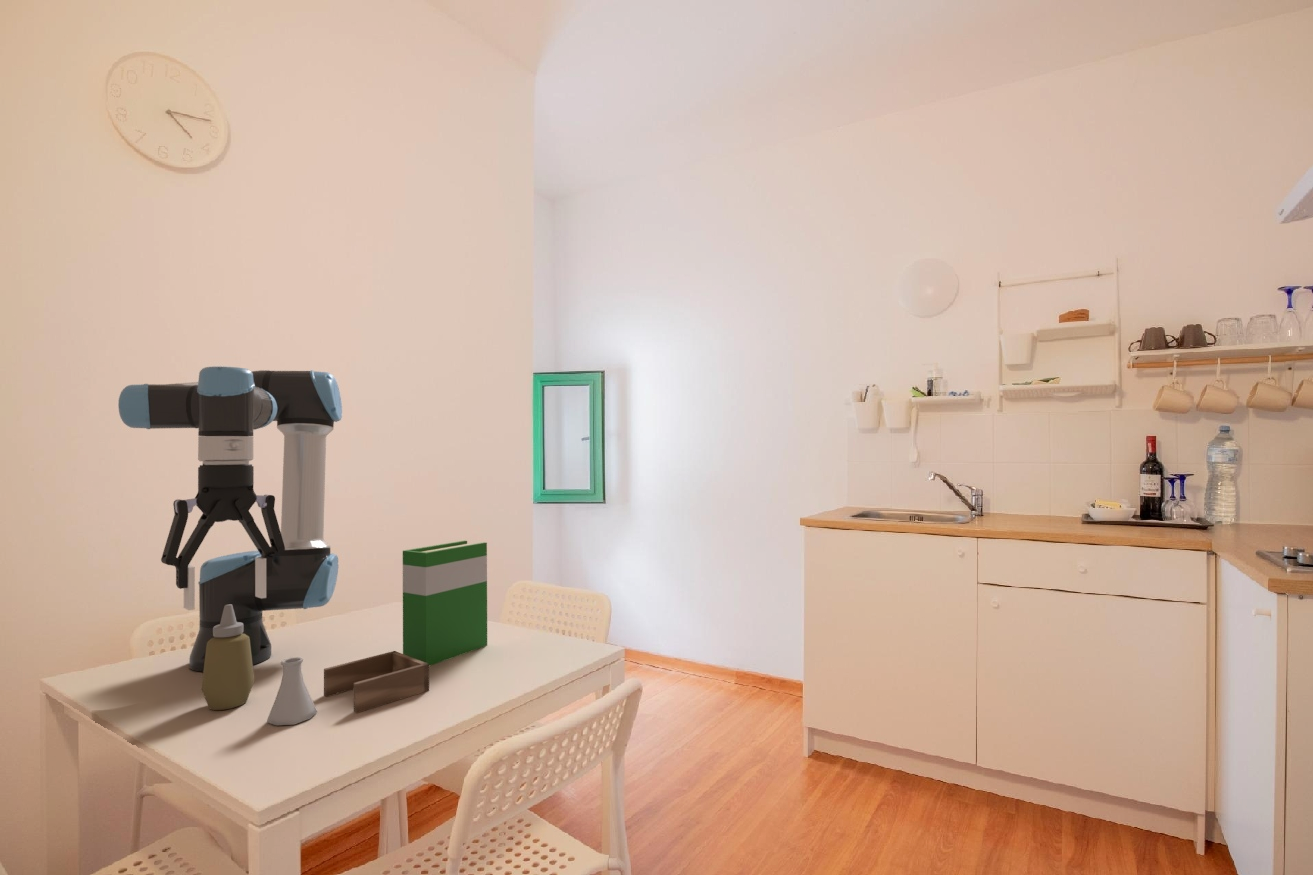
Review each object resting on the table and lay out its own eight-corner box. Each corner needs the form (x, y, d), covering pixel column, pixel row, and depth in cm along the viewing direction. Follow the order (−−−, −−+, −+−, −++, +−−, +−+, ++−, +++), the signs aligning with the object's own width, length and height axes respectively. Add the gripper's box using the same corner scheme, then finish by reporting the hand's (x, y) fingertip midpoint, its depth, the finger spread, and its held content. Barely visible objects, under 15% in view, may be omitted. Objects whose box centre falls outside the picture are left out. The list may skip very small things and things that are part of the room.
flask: (295, 728, 110) (295, 667, 110) (257, 725, 111) (257, 665, 111) (325, 711, 117) (325, 654, 117) (289, 708, 118) (289, 652, 118)
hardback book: (464, 640, 159) (464, 540, 159) (487, 645, 155) (486, 542, 155) (402, 661, 144) (402, 550, 144) (426, 667, 140) (425, 553, 140)
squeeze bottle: (214, 717, 115) (215, 612, 115) (192, 707, 119) (192, 607, 119) (263, 701, 121) (263, 603, 122) (240, 693, 126) (240, 598, 126)
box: (323, 695, 124) (323, 668, 124) (394, 675, 135) (394, 650, 135) (356, 713, 116) (356, 684, 116) (429, 690, 126) (429, 663, 126)
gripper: (148, 465, 96) (147, 620, 96) (307, 461, 113) (307, 593, 113) (135, 464, 101) (134, 612, 101) (290, 461, 118) (290, 588, 117)
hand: (226, 602), depth 107 cm, fingers open, 9 cm apart
